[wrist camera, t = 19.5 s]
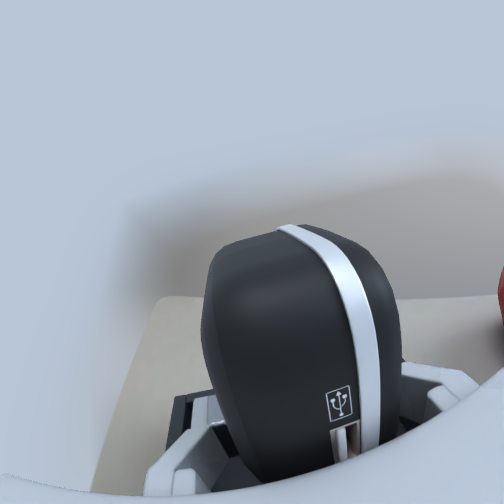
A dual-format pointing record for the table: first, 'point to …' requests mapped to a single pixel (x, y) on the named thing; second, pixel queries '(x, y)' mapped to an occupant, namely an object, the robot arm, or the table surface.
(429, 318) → the table surface
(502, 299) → the fruit
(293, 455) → the battery charger
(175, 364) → the table surface
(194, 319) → the table surface
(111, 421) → the table surface
